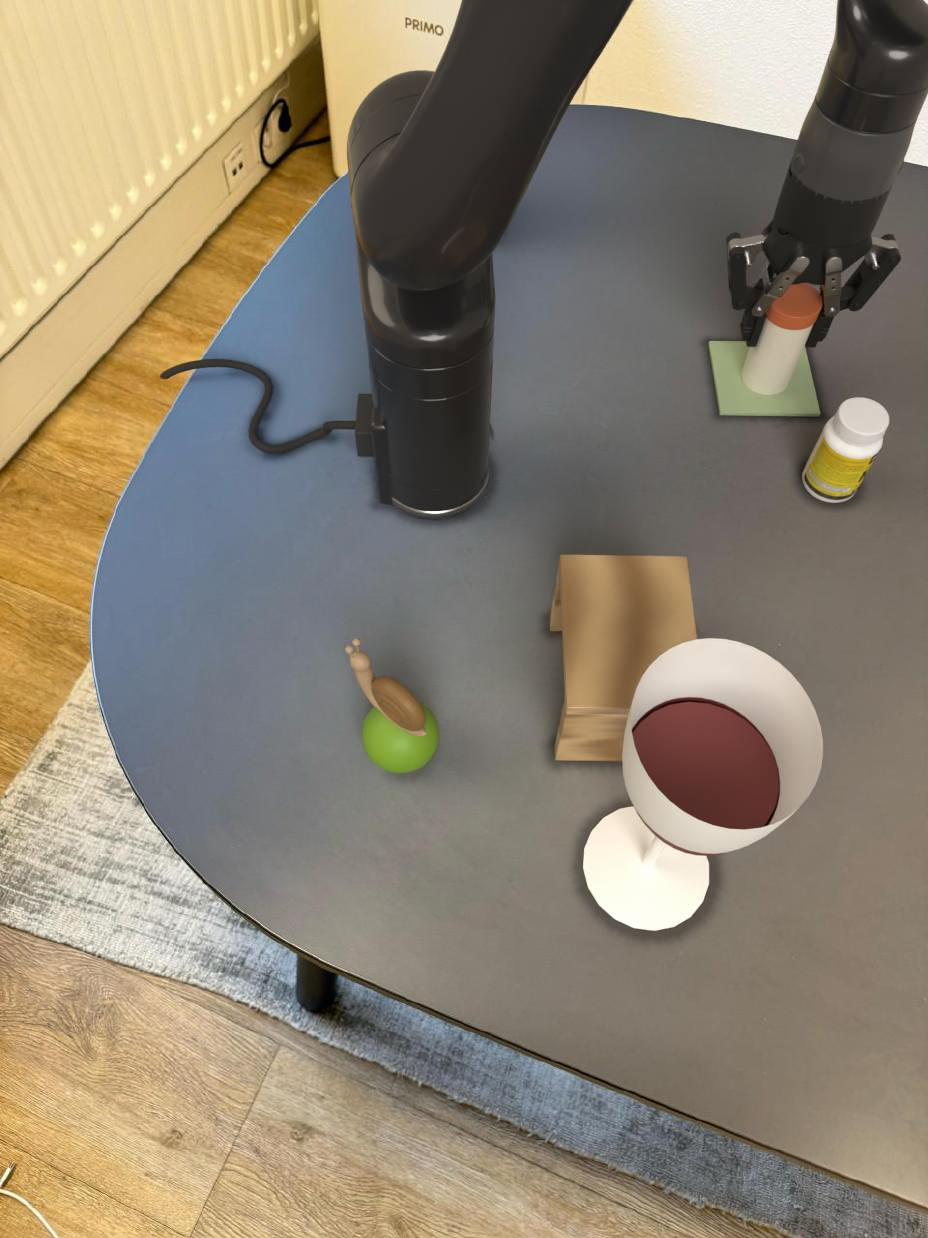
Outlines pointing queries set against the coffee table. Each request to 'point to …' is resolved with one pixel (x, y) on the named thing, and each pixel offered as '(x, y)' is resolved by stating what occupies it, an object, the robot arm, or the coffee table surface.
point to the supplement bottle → (845, 450)
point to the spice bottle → (782, 340)
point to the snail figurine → (393, 720)
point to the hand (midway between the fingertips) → (778, 339)
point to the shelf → (613, 641)
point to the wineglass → (700, 776)
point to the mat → (749, 403)
